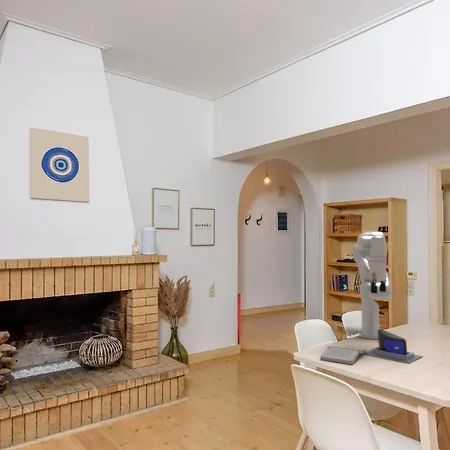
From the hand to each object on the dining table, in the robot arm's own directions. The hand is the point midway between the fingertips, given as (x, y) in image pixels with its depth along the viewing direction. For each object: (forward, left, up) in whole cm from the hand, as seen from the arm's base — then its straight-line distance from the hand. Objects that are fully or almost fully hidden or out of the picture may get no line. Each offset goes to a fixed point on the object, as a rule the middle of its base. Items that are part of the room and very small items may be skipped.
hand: (378, 292), depth 216 cm
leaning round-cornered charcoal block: (+10, +12, -27) cm, 31 cm away
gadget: (+30, -3, -28) cm, 41 cm away
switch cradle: (+11, +12, -28) cm, 33 cm away
